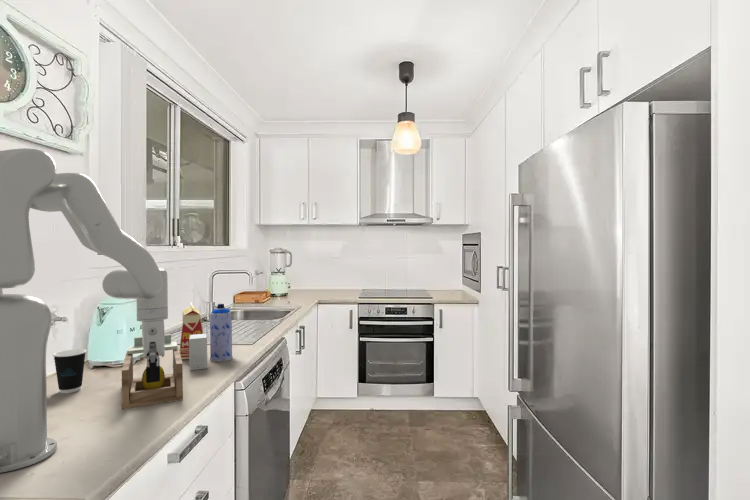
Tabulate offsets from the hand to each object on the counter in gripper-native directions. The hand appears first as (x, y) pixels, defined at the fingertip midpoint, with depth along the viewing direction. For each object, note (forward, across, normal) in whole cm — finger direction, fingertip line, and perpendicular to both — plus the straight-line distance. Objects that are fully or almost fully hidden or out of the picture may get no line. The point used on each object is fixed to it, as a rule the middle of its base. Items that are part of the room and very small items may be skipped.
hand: (153, 376), depth 116 cm
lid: (-5, +15, 0) cm, 15 cm away
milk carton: (+6, +43, -13) cm, 45 cm away
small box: (+6, +26, -14) cm, 30 cm away
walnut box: (+6, +6, 0) cm, 8 cm away
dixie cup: (+6, +18, +21) cm, 28 cm away
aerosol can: (+6, +34, -22) cm, 41 cm away
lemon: (+5, 0, 0) cm, 5 cm away
